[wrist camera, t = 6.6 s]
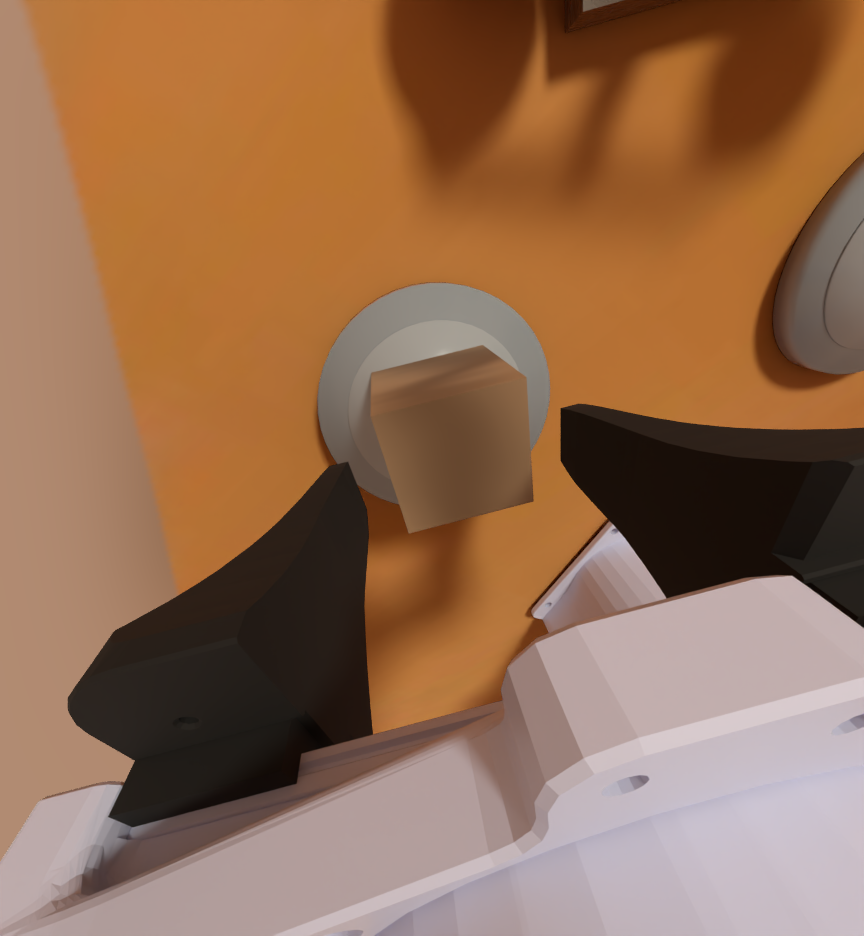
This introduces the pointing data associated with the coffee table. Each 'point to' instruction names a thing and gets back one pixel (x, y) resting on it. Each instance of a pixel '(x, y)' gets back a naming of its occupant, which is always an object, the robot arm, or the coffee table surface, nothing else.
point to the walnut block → (454, 436)
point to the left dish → (409, 340)
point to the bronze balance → (604, 11)
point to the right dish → (826, 284)
